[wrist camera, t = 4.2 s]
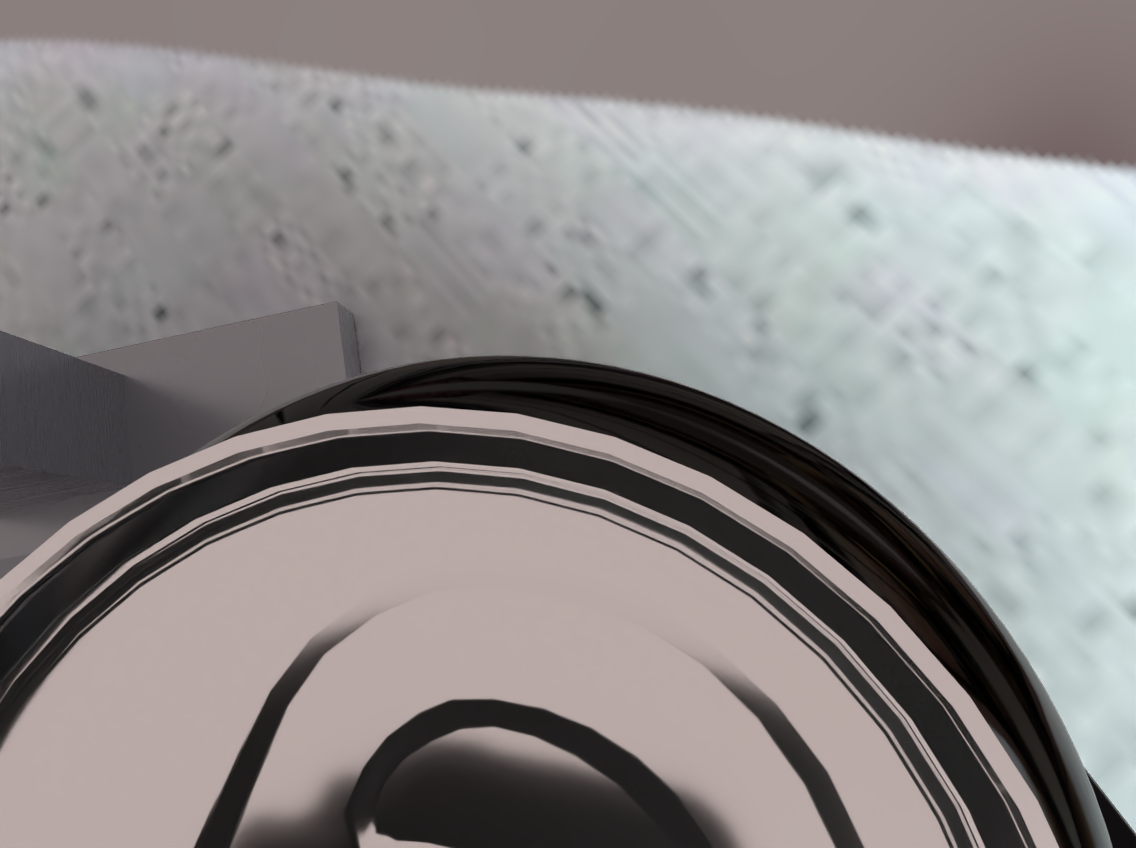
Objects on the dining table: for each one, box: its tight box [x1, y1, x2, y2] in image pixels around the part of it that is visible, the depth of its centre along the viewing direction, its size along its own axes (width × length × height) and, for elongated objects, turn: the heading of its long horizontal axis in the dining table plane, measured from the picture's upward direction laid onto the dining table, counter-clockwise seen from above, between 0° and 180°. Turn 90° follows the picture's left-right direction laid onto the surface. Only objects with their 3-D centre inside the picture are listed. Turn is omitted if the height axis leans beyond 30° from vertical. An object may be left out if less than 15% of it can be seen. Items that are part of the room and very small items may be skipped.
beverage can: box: [0, 355, 1113, 848], centre depth 10 cm, size 7×7×12 cm
